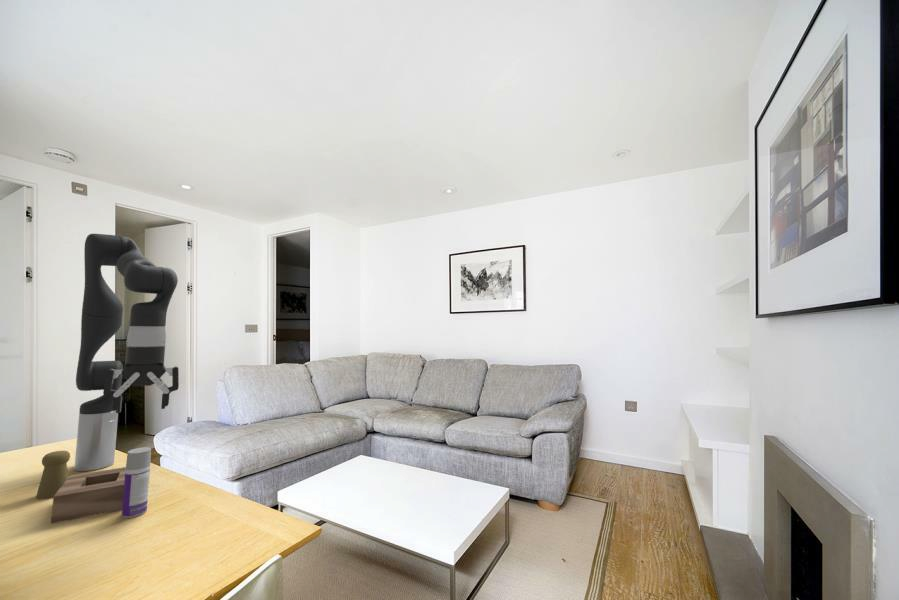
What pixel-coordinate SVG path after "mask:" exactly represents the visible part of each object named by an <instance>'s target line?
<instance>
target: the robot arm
mask: <svg viewBox="0 0 899 600" xmlns="http://www.w3.org/2000/svg"><path fill="white" fill-rule="evenodd" d="M83 254H84V289H83V300H82V308H81V323H80V324H81V325H80V326H81V327H80V346H79V347H80V349H79V354H78V361H77V368H76V372H75V373H76V376H75V386H76V388H77V390H78V391H82V392H84V391H85V392H88V391H89V392H90V391H102V392H103V393H102V394H103V395H101V396H98V397H96V398H95V399H90V400H88V401H85V402H83V403H81V404H80V406H79V414H78V424H77V435H76V447H75V457H74V467H73V470H74V471H75V472H89V471H94V470H101V469H103V468H107V467H110V466H112V465H113V464H114V463H115V458H116V457H115V455H116V446H117V445H116V443H117V431H118V420H119V414H120V413H121V412H122V406H123V395H122V394H123V393H124V392H125V391H126V390H127V389H128V388H129V387H130V386H134V387H141V386H146V387H147V386H152V385H155V386H156V387H157V388H159V390H161V391H162V394H161V405H160V406H161V408H160V410H165V409H166V407H168V405H169V403H170V394H171V393H172V392H175V391H177V390H179V386H180V385H179V384H180V383H179V380H180V379H179V378H180V377H179V375H180V374H179V372H180V371H179V367H178V365H175V366H174V367H166V366H165V354H166V343H167V341H166V339H167V333H166V331H167V330H166V324H167V323H166V321H167V312H168V308H169V305H170V303H171V300H172V298H173V294H174V293H175V290H176V288H177V285H178V279H179V278H178V276H177V273H176V272H175V271H174V270H173V269H172V268H170V267H163V266H157V265H155V264H154V262H153V261H151V260H149V259H148V258H147V257H145V256H144V255H143V253H142V251H141V250H140V248H139V247H138V245H137V244H136V242H135V240H133V239H132V238H130V237H128V236H123V235H116V234H103V233H89V234H88V235H87V236H86V238H85V241H84V253H83ZM102 266H104V267H107V266H108V267H109V266H110V267H116V269H117V271H118V272H119V274H120V275H121V276H122V277H124V278H123V282H124V286H125V288H126V289H127V290H129V291H131V292H134V293H137V294H138V293H139V294H140V293H141V294H155V297H154V299H152V300H151V301H144V302H138V303H134V304H133V305H131V309H130V319H129V328H128V333H127V336H126V342H125V344H126V349H125V361H124V362H125V363H124V366H123V363H122V361H120V360H97V361H95V360H94V358H95V356H96V354H97V353H98V352H99V350H100V349H102V347H103V346H104V345H105V344H106V343H107V342H108V341H110V339H112V338H113V336H114V335H115V334H116V333H118V331H119V330H120V328H121V326H122V324H123V315H124V314H123V313H124V306H123V303H122V301H121V300H120V298H119V297H118V295H116V293H115V292H114V291H113V290H112V289H111V288H110V286H109V285H108V284H107V282H106V280H105V279H104V276H103V275H102ZM93 360H94V361H93ZM166 373H167V374H168V376H170V377H172V380H171V381H172V385H171V386H168V385H167V384H166V383H165V382H164V380H163V379H162V376H163V375H164V374H166ZM123 378H124V379H125V380H126V381H125V382H124V383H123V384H122V380H123Z"/></svg>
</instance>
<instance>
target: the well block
mask: <svg viewBox="0 0 899 600" xmlns="http://www.w3.org/2000/svg"><path fill="white" fill-rule="evenodd" d="M125 471H126V466H124V467H118V468H117V467H116V468H110V469H105V470H104V469H103V470H99V471H91V472H84V473H80V474H79V473H78V474H72V475H68V479H67V480H66V481H65V483H64V484H63V485H62V486H61V488H60V489H59V490H58V492H57V493H56V494H55V495H54V497H53V498H52V500H53V501H52V509H51V518H50V524H51V523H52V524H56V523H61V521H62V522H66V521H65V520H67V521H72V520H76V519H82V518H87V517H90V516H91V515H92V516H96V515H95V514H97V515H101V513H102V514H106V513H111V512H116V511H120V510H121V511H122V506H123V493H124V481H125ZM92 516H91V517H92Z"/></svg>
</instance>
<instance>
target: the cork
mask: <svg viewBox="0 0 899 600" xmlns="http://www.w3.org/2000/svg"><path fill="white" fill-rule="evenodd" d="M70 458H71V453H70V452H69V451H67V450H56V451H51V452H49V453H46V454H45V455H44V456H43V457H42V458H41V464H42V466H43V471H42V473H41V478H40V482H39V485H38V489H37V492H36V496H35V498H36V500H40V499H43V500H50V499H53V497H54V495H55V494H56V493H57V492H58V490H59V489H60V488H61V486H62V485H63V484H64V483H65V481H66V480H67V479H68V477H69V475H68V474H69V473H68V464H67V463H68V462H69V461H70Z"/></svg>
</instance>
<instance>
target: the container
mask: <svg viewBox="0 0 899 600" xmlns="http://www.w3.org/2000/svg"><path fill="white" fill-rule="evenodd" d="M126 455H127V456H126V465H125V467H126V471H125V481H124V493H123V506H122V510H121V518H123V519H133V518H137V517H139V516H142V515H144V514H145V513H147V511H148V510H147V509H148V499H149V491H150V490H149V488H150V486H149V485H150V474H151V457H152V448H151V447H146V446H144V447H137V448H133V449H130V450H128V451H127V454H126Z"/></svg>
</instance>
